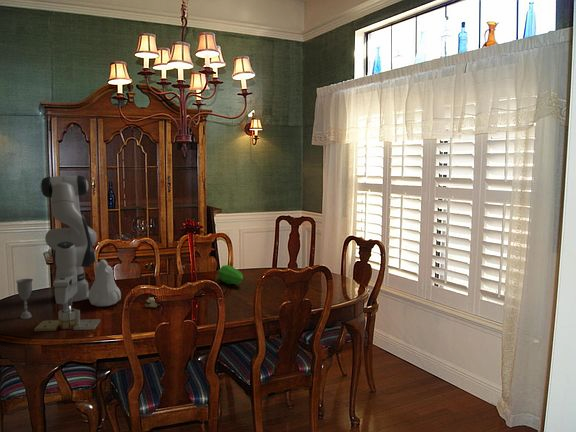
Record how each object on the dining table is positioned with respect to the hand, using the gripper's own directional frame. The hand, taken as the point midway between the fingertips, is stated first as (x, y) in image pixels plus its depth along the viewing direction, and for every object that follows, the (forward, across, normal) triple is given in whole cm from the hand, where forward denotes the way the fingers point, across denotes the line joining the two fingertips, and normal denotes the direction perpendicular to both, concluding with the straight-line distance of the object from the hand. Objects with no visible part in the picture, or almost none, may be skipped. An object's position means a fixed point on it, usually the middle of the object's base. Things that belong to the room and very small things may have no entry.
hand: (67, 308), depth 226 cm
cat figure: (+9, -31, +42) cm, 53 cm away
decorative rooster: (+9, -36, +8) cm, 38 cm away
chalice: (+9, -15, -24) cm, 30 cm away
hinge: (+9, 0, 0) cm, 9 cm away
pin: (+9, 0, 0) cm, 9 cm away
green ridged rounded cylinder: (+9, -72, +75) cm, 105 cm away
